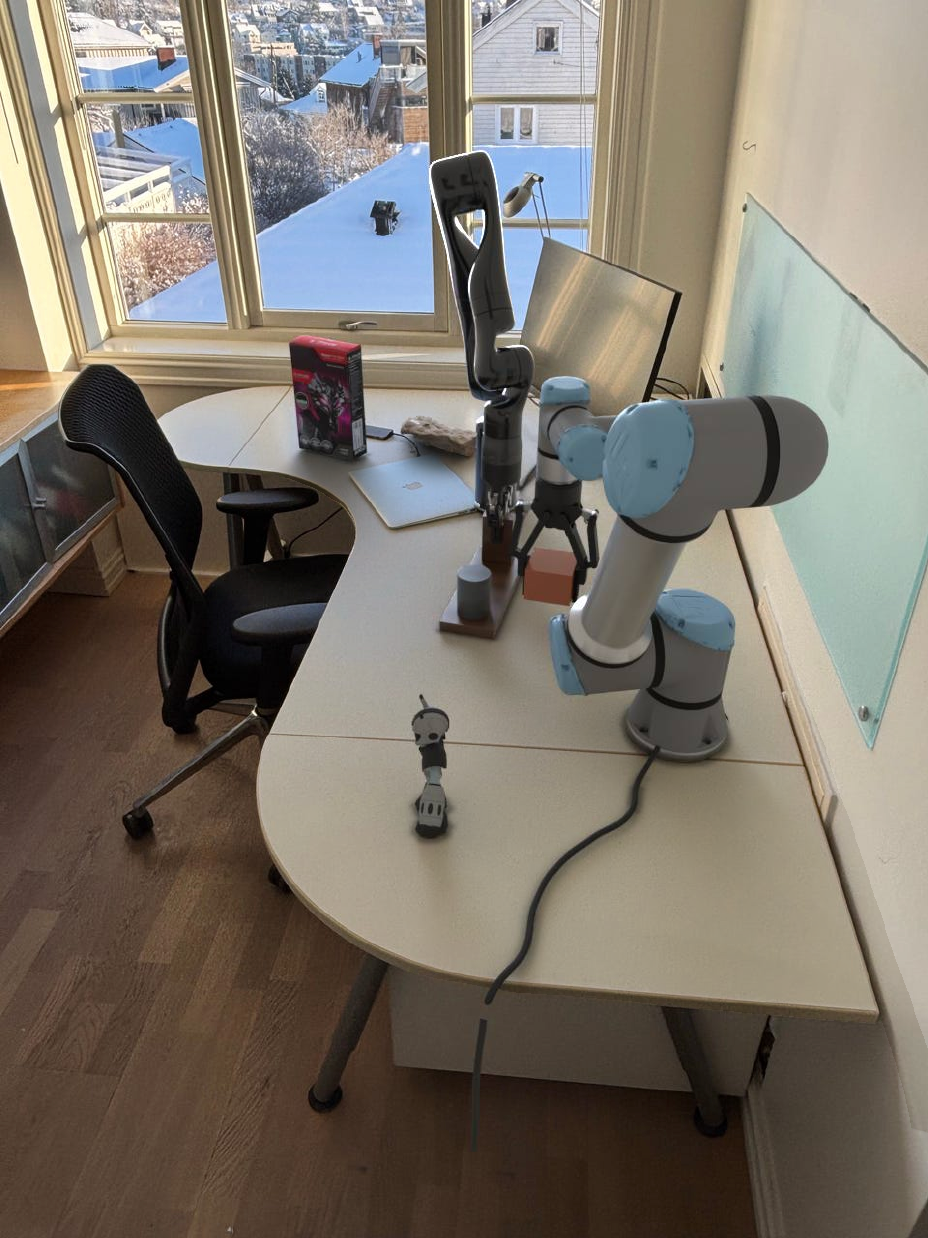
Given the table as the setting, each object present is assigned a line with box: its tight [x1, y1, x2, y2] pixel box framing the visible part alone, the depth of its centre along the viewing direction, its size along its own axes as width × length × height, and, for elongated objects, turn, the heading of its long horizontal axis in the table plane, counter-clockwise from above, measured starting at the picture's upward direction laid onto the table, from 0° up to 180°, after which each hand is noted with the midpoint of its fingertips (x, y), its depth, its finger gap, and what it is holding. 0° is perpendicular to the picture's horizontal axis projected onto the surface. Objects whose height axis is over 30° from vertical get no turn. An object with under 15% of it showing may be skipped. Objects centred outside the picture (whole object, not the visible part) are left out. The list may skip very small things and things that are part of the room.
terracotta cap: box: [523, 546, 577, 607], centre depth 158 cm, size 8×8×6 cm
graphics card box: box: [288, 334, 368, 462], centre depth 223 cm, size 17×7×27 cm, turn 62°
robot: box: [410, 693, 450, 839], centre depth 122 cm, size 20×5×20 cm, turn 3°
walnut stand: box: [439, 511, 521, 640], centre depth 172 cm, size 28×10×12 cm, turn 165°
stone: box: [400, 415, 476, 457], centre depth 232 cm, size 21×15×6 cm
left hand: (498, 537), depth 180 cm, fingers closed on walnut stand, 3 cm apart
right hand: (550, 594), depth 160 cm, fingers closed on terracotta cap, 8 cm apart
